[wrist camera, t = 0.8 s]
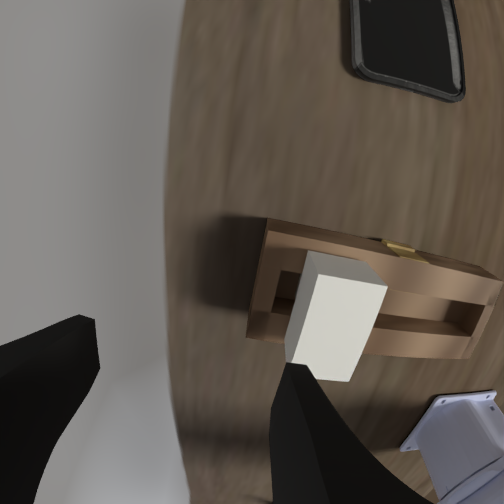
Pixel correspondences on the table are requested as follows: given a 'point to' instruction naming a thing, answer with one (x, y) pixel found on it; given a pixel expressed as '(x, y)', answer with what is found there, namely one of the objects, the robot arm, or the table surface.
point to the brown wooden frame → (396, 297)
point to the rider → (333, 315)
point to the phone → (409, 46)
